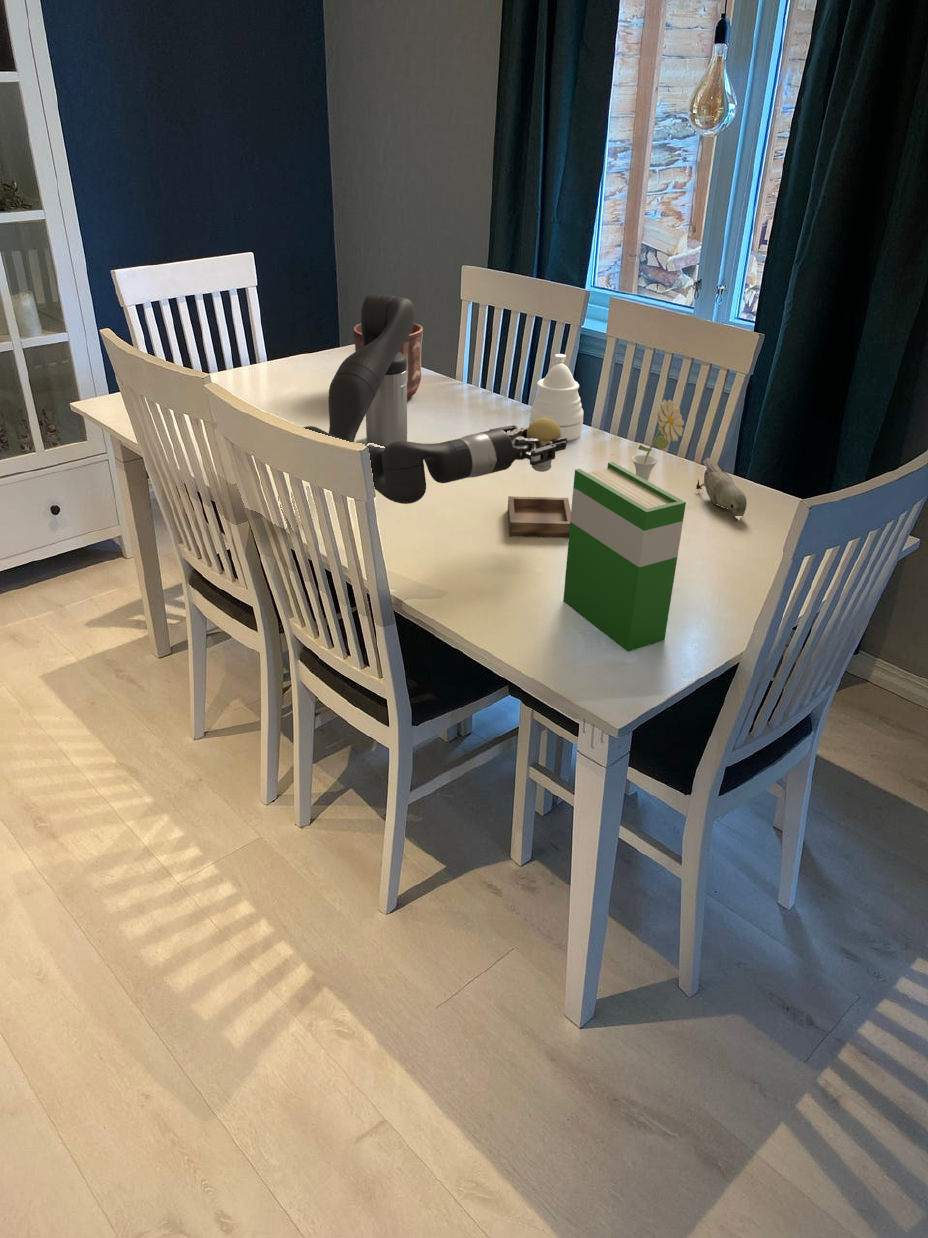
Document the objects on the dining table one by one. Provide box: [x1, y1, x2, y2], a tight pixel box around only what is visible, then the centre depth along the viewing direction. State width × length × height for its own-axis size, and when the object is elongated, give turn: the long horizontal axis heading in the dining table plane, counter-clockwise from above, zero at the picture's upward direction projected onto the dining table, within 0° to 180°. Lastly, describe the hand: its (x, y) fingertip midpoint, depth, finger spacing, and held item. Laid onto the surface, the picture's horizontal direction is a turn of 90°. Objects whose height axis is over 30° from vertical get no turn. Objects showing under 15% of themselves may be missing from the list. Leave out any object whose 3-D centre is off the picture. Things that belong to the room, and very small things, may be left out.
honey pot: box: [528, 353, 585, 442], centre depth 230 cm, size 13×13×18 cm
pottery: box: [352, 322, 424, 401], centre depth 249 cm, size 18×18×18 cm
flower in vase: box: [631, 399, 685, 482], centre depth 185 cm, size 13×11×25 cm
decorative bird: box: [695, 457, 748, 517], centre depth 198 cm, size 5×16×8 cm, turn 16°
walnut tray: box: [507, 496, 571, 539], centre depth 189 cm, size 12×12×3 cm
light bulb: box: [527, 418, 561, 473], centre depth 181 cm, size 6×6×10 cm
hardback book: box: [562, 461, 687, 653], centre depth 153 cm, size 18×7×24 cm, turn 30°
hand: (553, 436), depth 182 cm, fingers closed on light bulb, 6 cm apart
